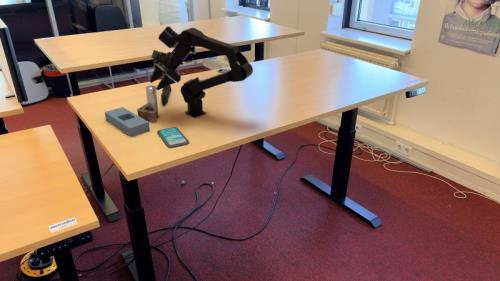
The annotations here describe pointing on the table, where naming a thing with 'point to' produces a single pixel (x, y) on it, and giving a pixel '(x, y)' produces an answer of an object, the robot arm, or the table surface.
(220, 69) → the table surface
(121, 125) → the grey block with hole
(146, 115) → the v block
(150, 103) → the axle
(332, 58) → the table surface
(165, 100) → the hand tool
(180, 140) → the smartphone
